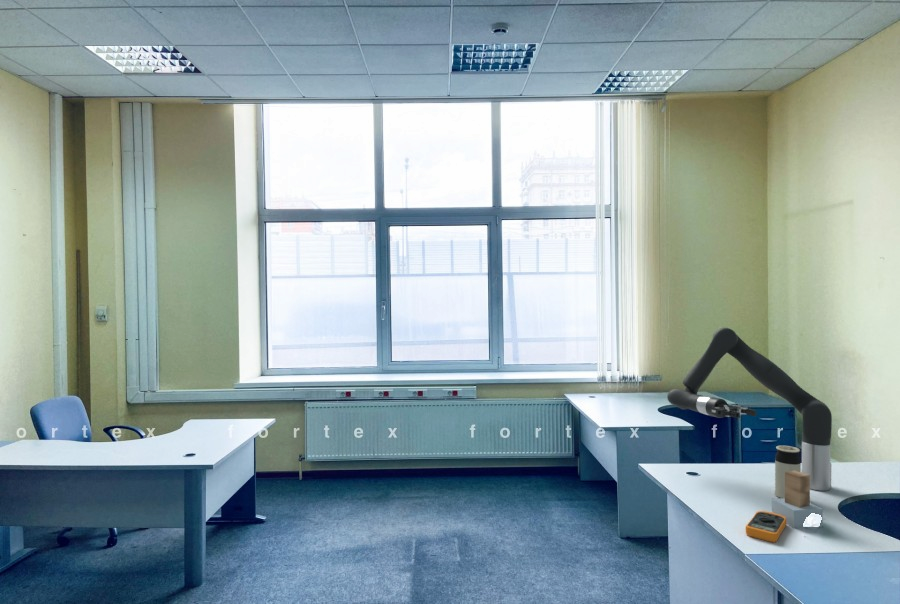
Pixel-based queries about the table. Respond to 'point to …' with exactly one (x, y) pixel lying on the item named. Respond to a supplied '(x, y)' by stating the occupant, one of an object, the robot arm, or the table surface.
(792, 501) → the walnut block
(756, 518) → the multimeter
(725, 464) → the table surface
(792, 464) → the travel mug
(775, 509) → the slate box
